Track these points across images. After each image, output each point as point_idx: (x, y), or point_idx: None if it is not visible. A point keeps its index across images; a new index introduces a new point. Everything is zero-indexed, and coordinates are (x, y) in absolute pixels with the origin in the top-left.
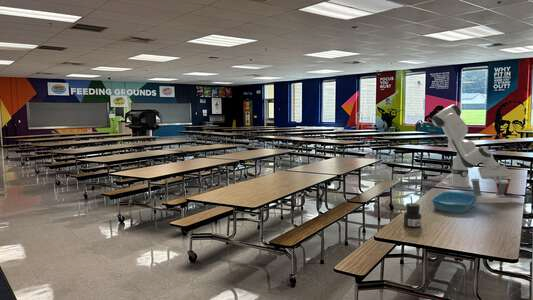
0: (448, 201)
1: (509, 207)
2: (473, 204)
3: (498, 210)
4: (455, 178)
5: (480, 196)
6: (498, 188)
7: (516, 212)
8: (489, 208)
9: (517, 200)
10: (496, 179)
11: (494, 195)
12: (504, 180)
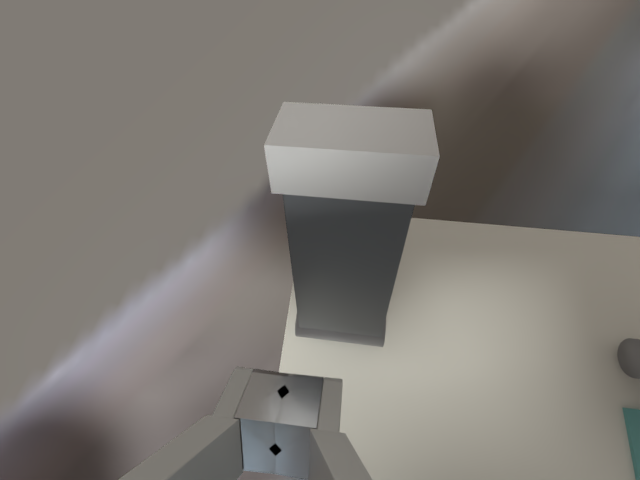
0: None
1: (441, 100)
2: None
3: (578, 47)
4: None
5: (618, 346)
6: (392, 287)
7: (480, 5)
8: (623, 93)
9: (172, 291)
10: (340, 453)
11: (391, 365)
12: (345, 130)
